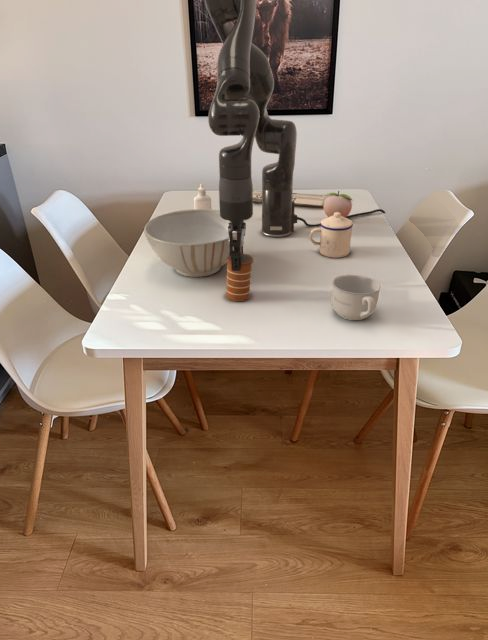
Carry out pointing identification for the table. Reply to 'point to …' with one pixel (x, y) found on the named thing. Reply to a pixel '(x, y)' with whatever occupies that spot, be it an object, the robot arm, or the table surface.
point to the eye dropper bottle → (202, 199)
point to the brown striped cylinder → (239, 279)
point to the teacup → (354, 296)
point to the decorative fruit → (337, 204)
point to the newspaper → (297, 198)
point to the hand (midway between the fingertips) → (237, 263)
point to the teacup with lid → (334, 236)
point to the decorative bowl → (190, 240)
